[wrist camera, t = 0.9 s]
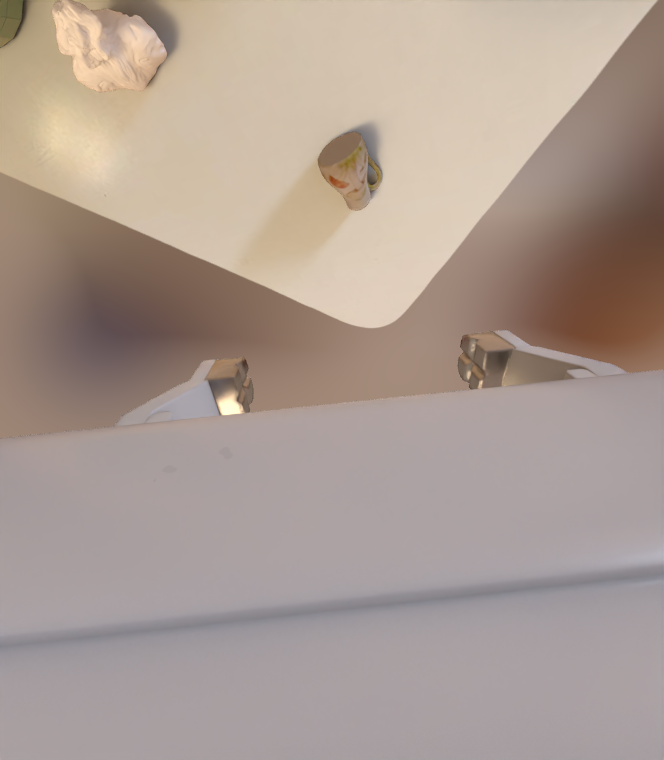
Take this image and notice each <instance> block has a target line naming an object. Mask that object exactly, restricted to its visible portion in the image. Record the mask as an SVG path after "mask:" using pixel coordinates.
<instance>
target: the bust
mask: <svg viewBox="0 0 664 760" xmlns="http://www.w3.org/2000/svg"><path fill="white" fill-rule="evenodd" d="M52 14H53V18H54V20H55V23H56V27H57V28H56V39H57V42H58V44H59V46H58V48H59V51H60V52H61V53H63V54H66V55H70V56H71V57H73V71H74V74H75V77H76V79H77V80H78V81H79V82H81V83H83V84H84V85H85V86H86V87H88V88H93V89H94V90H95V91H97V92H103V91H112V90H117V89H122V88H123V89H131V90H136V91H142V90H144V89H145V88H146V86H147V84H148V83H149V81H150V80H151V78H152V77H153V76H154V75H155V74H156V71H157V68H158V66H159V65H160V64H161V63H162V62H164V60H165V59H166V56H167V51H166V49H165V47H164V45H163V43H162V42H161V41H160V39H159V38H158V36H157V34H156V32H155V31H154V30H153V29H152V28H151V27H150V26H149V25H147V23H146V22H145V21H144V20H143V19H142V18H141V17H140V16H138V15H133V16H132V17H129V16H128V15H127V14H124V15H123V14H122V13H121V12H115V11H112V10H110V9H102V10H89V9H88V8H87V7H86V6H85V5H83V4H80V3H78V2H74V1H73V0H60V1H57V2H56V3H55V4H54V6H53V8H52Z"/></svg>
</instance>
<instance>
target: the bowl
mask: <svg viewBox="0 0 664 760" xmlns="http://www.w3.org/2000/svg"><path fill="white" fill-rule="evenodd" d="M22 6H23V0H0V48H1V47H2V46H3V45H5V44H6V43H7V42H9V41H10V40H11V39H13V38H14V36H15V33H16V31H17V29H18V27H19V24H20V22H21V19H22Z"/></svg>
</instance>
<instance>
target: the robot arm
mask: <svg viewBox="0 0 664 760" xmlns="http://www.w3.org/2000/svg"><path fill="white" fill-rule="evenodd" d="M460 347H461V348H462V350H463V351H464V352H463V353H462V354H461V355H460V357H459V359H458V370H459V374H460V376H461V378H462V379H463V380H464V381H466V382H468V383H470V384H469V388H470V389H471V390H462V391H452V392H443V393H433V394H424V395H413V396H404V397H395V398H384V399H375V400H365V401H355V402H346V403H336V404H326V405H317V406H307V407H298V408H287V409H278V410H268V411H258V412H249V411H250V408H249V404H251V403H252V400H253V384H252V380H251V378H250V377H249V376H247V375H246V374H247V371H248V365H247V362H246V360H245V358H231V359H219V360H217V359H215V360H207V361H202V362H201V364H200V365H199V367H198V368H197V370H196V371H195V373H194V374H193V376H192V377H191V379H190V380H189V382H184V383H182V384H180V385H178V386H176V387H175V388H173V389H171V390H169V391H167V392H165V393H163V394H161V395H160V396H158V397H156V398H154V399H152V400H150V401H148V402H146V403H144V404H143V405H141V406H139V407H137V408H135V409H133V410H131V411H129V412H128V413H126V414H124V415H123V416H122V417H121V418H120V419H119V420H118V421H117V422H116V424H115V425H114V426H113V427H104V428H95V429H85V430H76V431H66V432H56V433H47V434H37V435H29V436H28V435H27V436H18V437H9V438H0V760H664V370H655V371H645V372H636V373H628V372H626V371H624V370H622V369H620V368H619V367H617V366H615V365H613V364H609V363H604V362H600V361H596V360H592V359H587V358H583V357H579V356H575V355H570V354H566V353H562V352H558V351H554V350H549V349H545V348H540V347H537V346H535V347H531V346H530V345H528V344H527V343H525V342H524V341H522V340H521V339H519V338H518V337H517V336H515V335H513V334H512V333H511V332H509V331H507V330H500V331H494V332H493V331H490V332H482V333H474V334H467V335H464V336H463V338H462V340H461V346H460Z"/></svg>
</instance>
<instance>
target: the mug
mask: <svg viewBox="0 0 664 760" xmlns="http://www.w3.org/2000/svg"><path fill="white" fill-rule="evenodd" d="M368 164H369V165H370V166H371V167H372V168H373V169H374V170H375V171H376V173H377V181H376V182H375V183H374V184H373V185H370V184H369V182H367V168H368ZM318 165H319V168H320V170H321V173H322V175H323V176H324V178H325V179H326V181H327V182H328V183H329V184H330V185H331V186H333V187H334V188H335V189H336V190H337V191H338V192H339V193H340V194H341V195H342V196H343V197H344V199H345V201H346V203H347V205H348V207H349V208H350V209H351V210H355V211H357V210H361V209H363V208H365V207H366V206H367V205H368V203H369V201H370V198H371V194H370V191H369V190H372V191H374V190H376V189H377V188H378V187H379V185H380V183H381V180H382V174H381V171H380V169H379V167H378V166H377V165H376V164H375V163H374V162H373V161H372V159H371V158H370V157H369V155H368V153H367V148H366V145H365V142H364V140H363V138H362V136H361V135H360V134H359V133H358V132H351V133H347V134H344V135H342V136H340V137H338V138H336V139H334V140H333V141H331V142H330V143H329V144H328V145H327V146H326V147H325V148H324V149H323V150H322V152H321V154H320V155H319V157H318Z"/></svg>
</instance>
